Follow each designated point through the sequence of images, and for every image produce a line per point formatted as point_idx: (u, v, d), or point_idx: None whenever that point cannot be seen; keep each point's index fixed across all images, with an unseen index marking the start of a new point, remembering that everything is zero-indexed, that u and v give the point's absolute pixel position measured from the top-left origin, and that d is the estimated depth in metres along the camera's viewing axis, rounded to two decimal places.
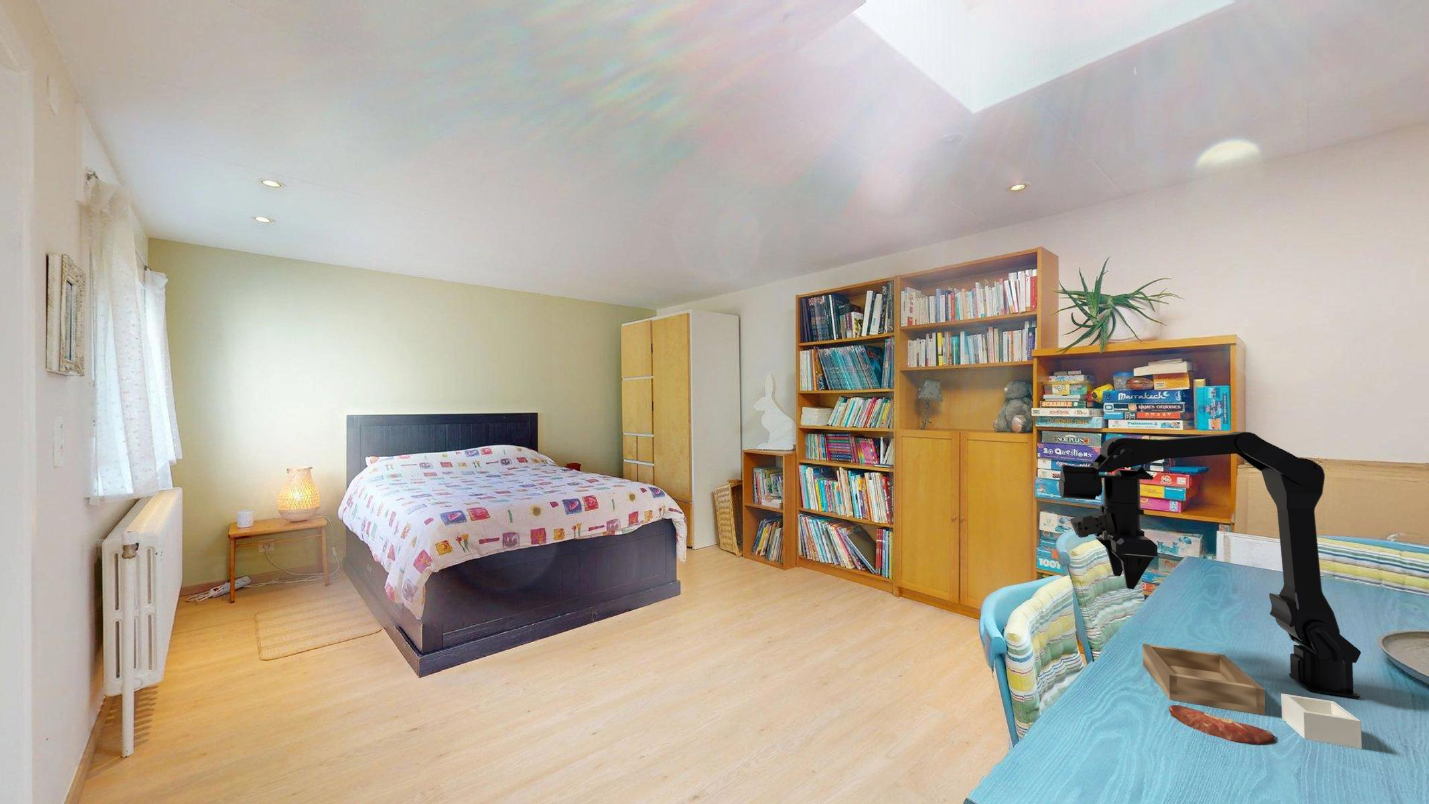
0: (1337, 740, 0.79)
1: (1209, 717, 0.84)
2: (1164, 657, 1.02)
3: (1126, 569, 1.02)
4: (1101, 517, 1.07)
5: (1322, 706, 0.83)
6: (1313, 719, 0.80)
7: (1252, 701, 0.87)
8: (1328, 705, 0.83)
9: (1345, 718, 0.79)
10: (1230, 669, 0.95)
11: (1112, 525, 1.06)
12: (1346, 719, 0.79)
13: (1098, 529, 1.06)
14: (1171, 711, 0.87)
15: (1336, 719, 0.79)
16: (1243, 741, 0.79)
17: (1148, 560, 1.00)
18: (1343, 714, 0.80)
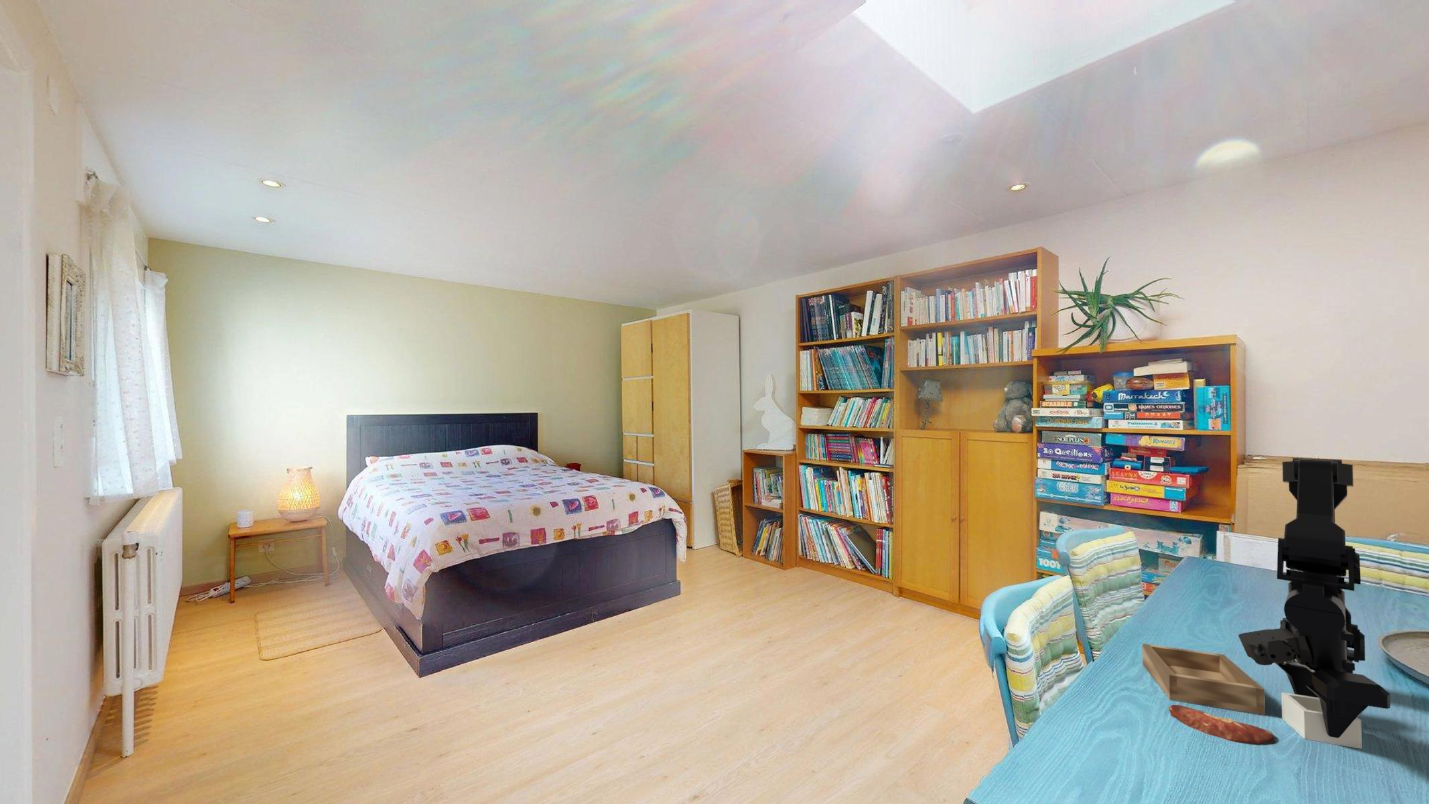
0: (1337, 739, 0.79)
1: (1209, 717, 0.84)
2: (1164, 657, 1.02)
3: (1330, 712, 0.78)
4: (1290, 640, 0.82)
5: None
6: (1313, 718, 0.80)
7: (1252, 701, 0.87)
8: None
9: None
10: (1230, 669, 0.95)
11: (1308, 653, 0.80)
12: None
13: (1290, 658, 0.80)
14: (1171, 711, 0.87)
15: None
16: (1243, 740, 0.79)
17: None
18: None
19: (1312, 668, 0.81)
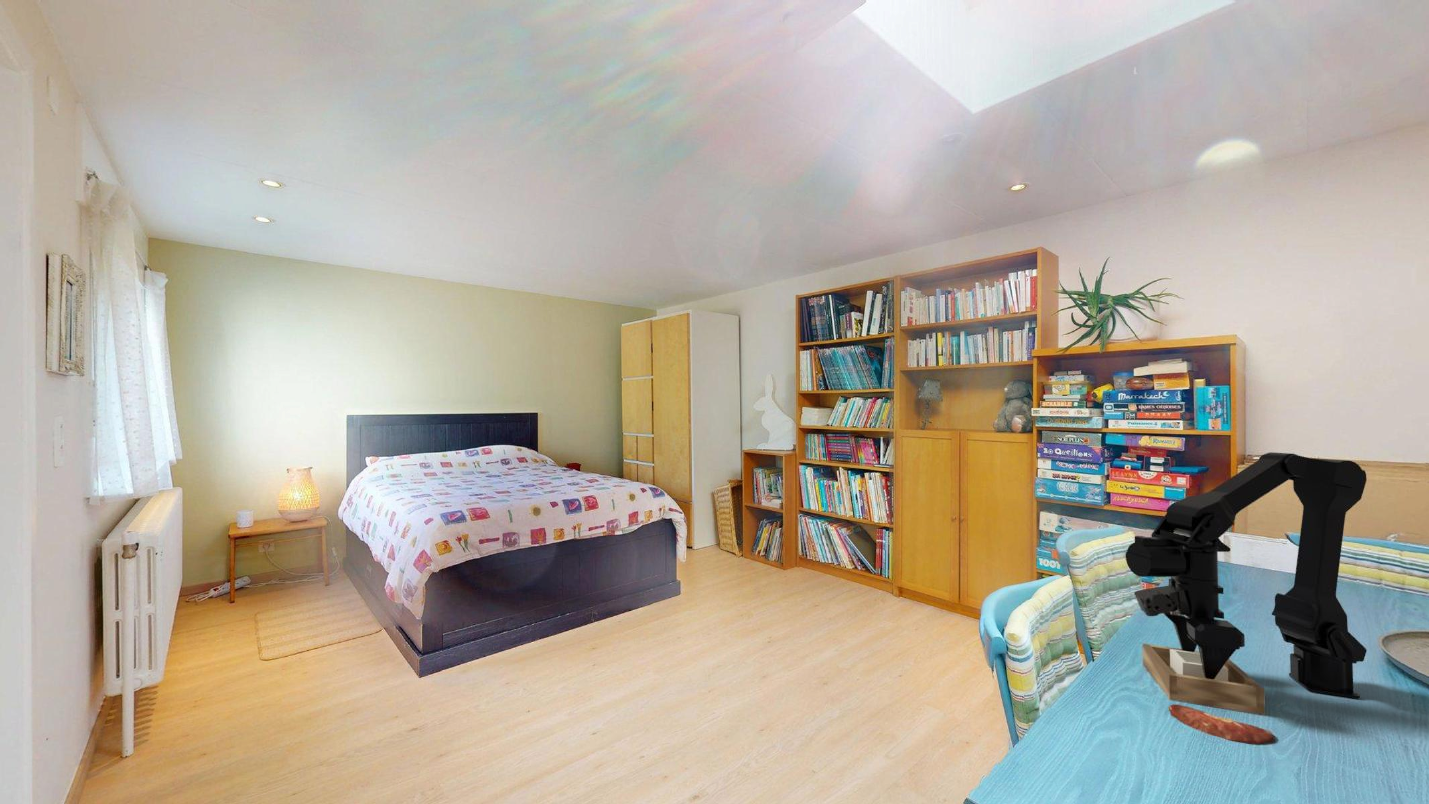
0: None
1: (1209, 716, 0.84)
2: (1164, 657, 1.02)
3: (1205, 657, 0.90)
4: (1173, 594, 0.95)
5: None
6: (1190, 668, 0.93)
7: (1252, 701, 0.87)
8: None
9: None
10: (1230, 669, 0.95)
11: (1186, 604, 0.94)
12: None
13: (1171, 609, 0.94)
14: (1171, 710, 0.87)
15: None
16: (1242, 740, 0.79)
17: (1232, 649, 0.89)
18: None
19: (1190, 618, 0.95)
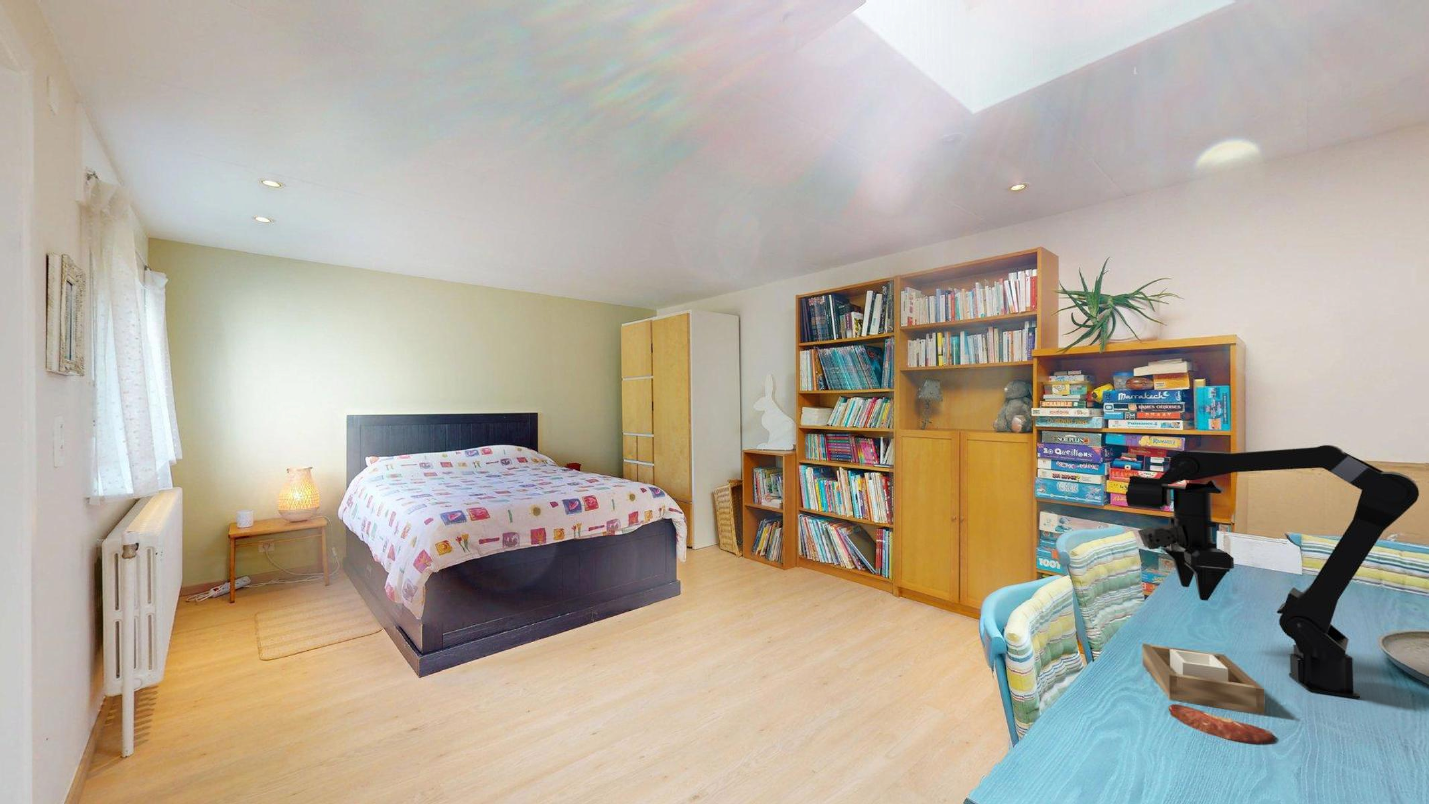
0: None
1: (1208, 716, 0.84)
2: (1164, 657, 1.02)
3: (1200, 581, 1.04)
4: (1172, 529, 1.09)
5: (1202, 659, 0.97)
6: (1190, 668, 0.93)
7: (1252, 701, 0.87)
8: (1207, 658, 0.97)
9: (1216, 667, 0.92)
10: (1230, 669, 0.95)
11: (1184, 537, 1.08)
12: (1216, 667, 0.92)
13: (1170, 541, 1.08)
14: (1171, 710, 0.87)
15: (1208, 668, 0.92)
16: (1242, 740, 0.79)
17: (1223, 572, 1.02)
18: (1216, 664, 0.94)
19: None
